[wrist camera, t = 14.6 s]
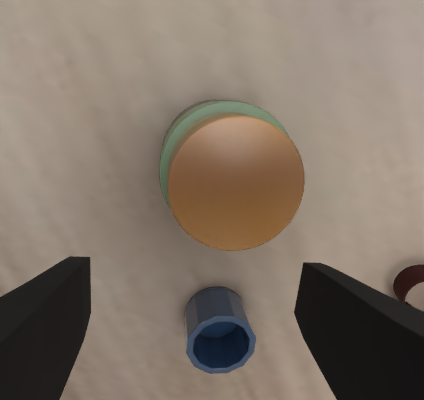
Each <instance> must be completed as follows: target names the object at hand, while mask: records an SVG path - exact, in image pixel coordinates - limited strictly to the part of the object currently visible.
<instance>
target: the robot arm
mask: <svg viewBox="0 0 424 400" xmlns="http://www.w3.org/2000/svg"><path fill="white" fill-rule="evenodd" d="M90 314H91V283H90V257H68V258H66V259H64V260H63V261H61V262H59V263H58V264H56V265H54V266H53V267H51V268H50V269H48V270H46V271H45V272H43V273H42V274H40V275H38V276H37V277H35V278H33V279H32V280H30V281H28V282H27V283H25V284H23V285H21V286H20V287H18V288H16V289H14V290H12V291H11V292H9V293H7V294H5V295H3V296H1V297H0V400H59V399H60V397H61V395H62V392H63V390H64V387H65V385H66V382H67V380H68V378H69V375H70V373H71V370H72V368H73V365H74V363H75V361H76V358H77V356H78V353H79V351H80V348H81V346H82V343H83V341H84V337H85V333H86V330H87V326H88V322H89V318H90ZM294 314H295V317H296V320H297V322H298V325H299V328H300V331H301V333H302V336H303V338H304V340H305V342H306V344H307V346H308V348H309V350H310V352H311V353H312V355H313V357H314V359H315V361H316V363H317V364H318V366H319V368H320V370H321V372H322V374H323V375H324V377H325V379H326V381H327V383H328V384H329V386H330V388H331V390H332V392H333V394H334V395H335V397H336V399H337V400H424V312H423V311H421V310H418V309H416V308H414V307H411V306H409V305H407V304H404V303H402V302H400V301H398V300H396V299H394V298H391V297H389V296H387V295H385V294H383V293H381V292H379V291H377V290H375V289H373V288H371V287H369V286H367V285H365V284H363V283H361V282H359V281H357V280H356V279H354V278H352V277H350V276H348V275H346V274H344V273H342V272H340V271H338V270H336V269H334V268H332V267H329V266H327V265H324V264H322V263H303V268H302V274H301V279H300V284H299V290H298V295H297V300H296V306H295V311H294Z"/></svg>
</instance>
